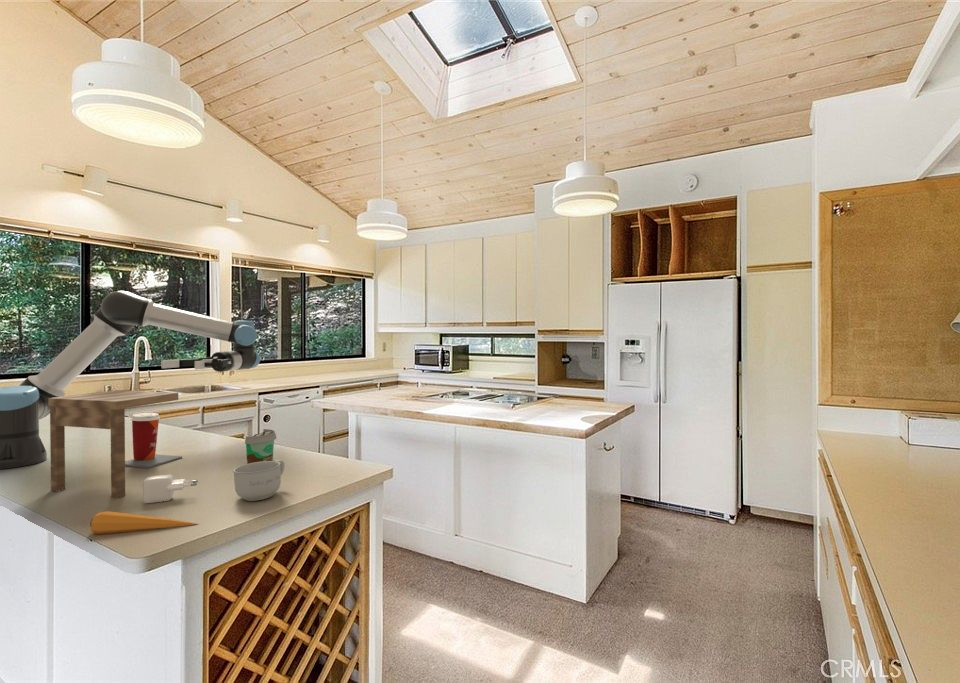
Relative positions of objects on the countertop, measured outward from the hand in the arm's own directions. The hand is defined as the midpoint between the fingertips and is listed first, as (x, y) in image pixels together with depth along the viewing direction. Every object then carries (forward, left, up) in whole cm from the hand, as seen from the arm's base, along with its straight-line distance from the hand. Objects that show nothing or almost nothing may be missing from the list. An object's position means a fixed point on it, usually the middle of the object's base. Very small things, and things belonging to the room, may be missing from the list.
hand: (178, 364), depth 162 cm
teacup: (+55, -29, -30) cm, 69 cm away
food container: (+37, -5, -30) cm, 48 cm away
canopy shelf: (+11, -31, -30) cm, 44 cm away
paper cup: (-3, -10, -30) cm, 31 cm away
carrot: (+45, -53, -30) cm, 76 cm away
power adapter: (+35, -37, -30) cm, 59 cm away
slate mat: (0, -11, -30) cm, 32 cm away
